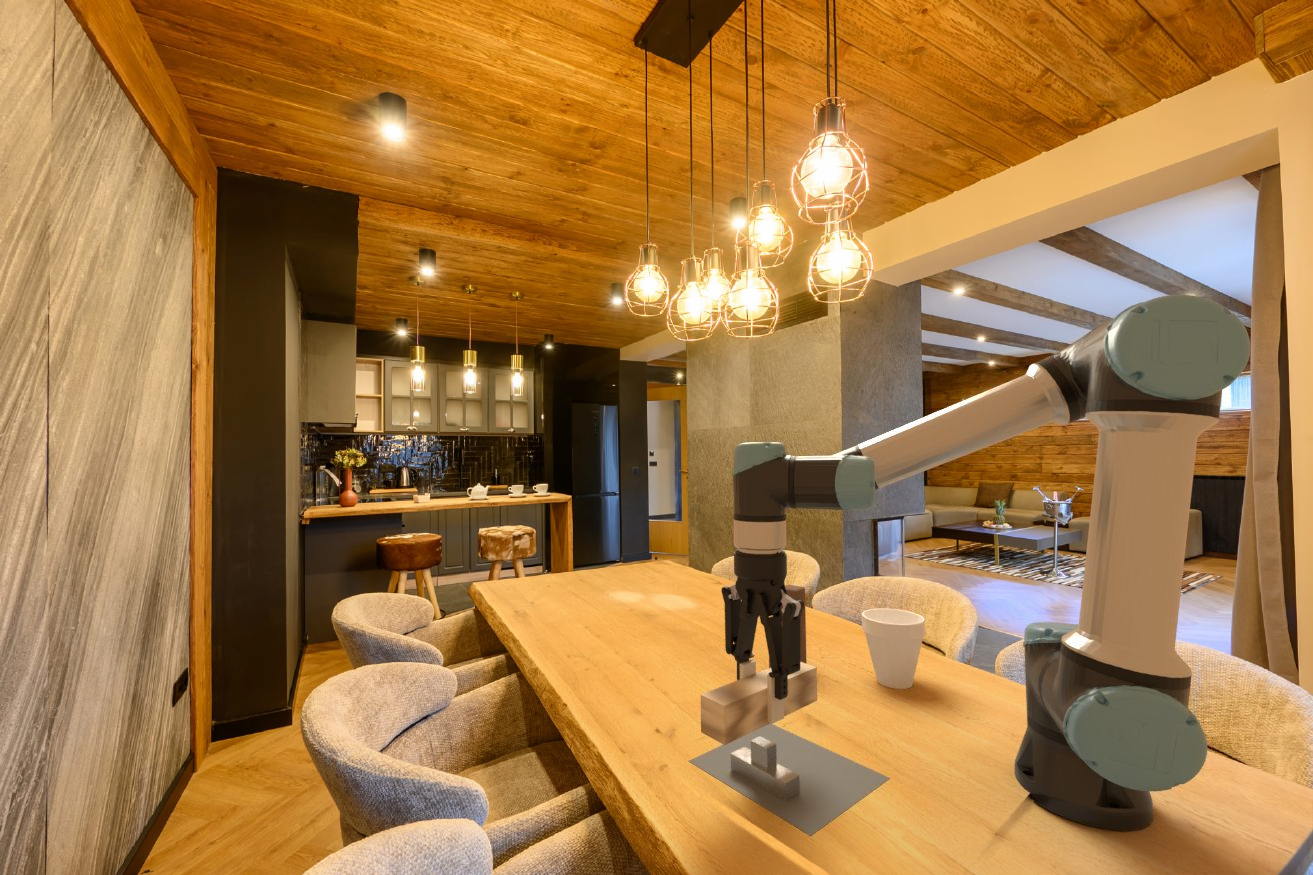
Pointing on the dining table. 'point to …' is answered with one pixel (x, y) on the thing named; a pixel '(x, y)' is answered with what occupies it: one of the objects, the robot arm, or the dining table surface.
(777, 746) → the slate board
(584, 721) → the dining table surface
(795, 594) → the wooden block
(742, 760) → the fulcrum ridge
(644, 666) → the dining table surface
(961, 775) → the dining table surface
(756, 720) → the beech bar
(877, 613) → the cup
